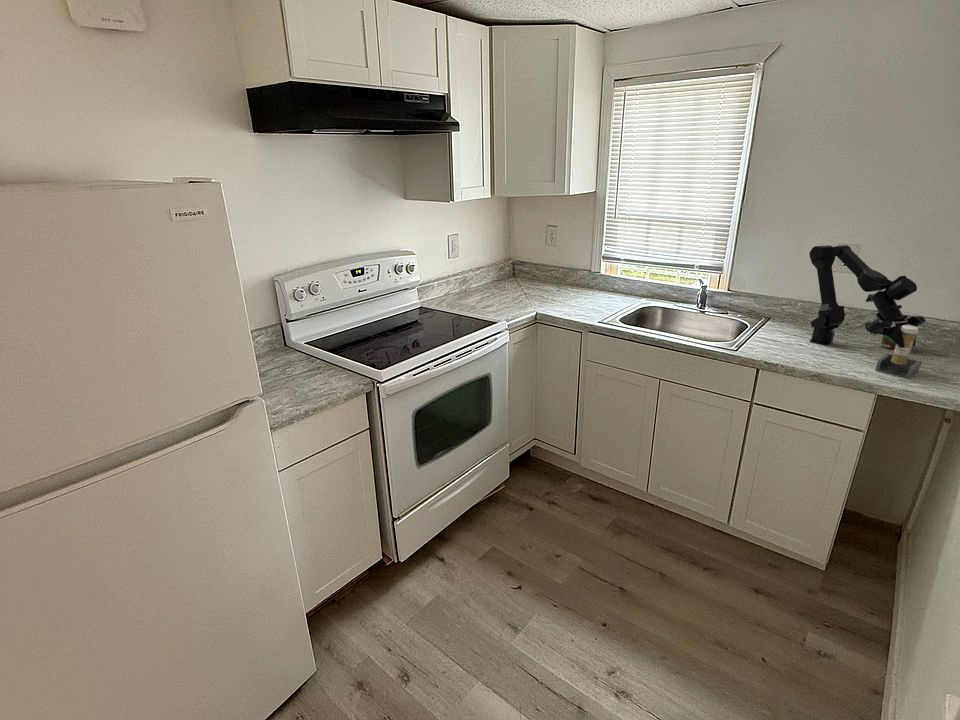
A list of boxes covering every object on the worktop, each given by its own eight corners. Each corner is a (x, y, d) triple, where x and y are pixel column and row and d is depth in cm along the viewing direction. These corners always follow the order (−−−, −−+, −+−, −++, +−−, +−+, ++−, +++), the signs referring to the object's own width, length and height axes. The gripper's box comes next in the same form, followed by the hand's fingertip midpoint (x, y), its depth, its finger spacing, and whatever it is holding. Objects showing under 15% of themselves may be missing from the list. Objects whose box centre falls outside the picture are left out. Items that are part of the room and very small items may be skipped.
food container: (893, 353, 198) (900, 328, 194) (877, 347, 204) (884, 323, 200) (917, 349, 201) (924, 324, 197) (901, 344, 207) (908, 320, 203)
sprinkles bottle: (888, 362, 182) (899, 325, 176) (894, 359, 184) (905, 323, 179) (903, 366, 178) (915, 329, 173) (909, 363, 180) (921, 327, 175)
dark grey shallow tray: (874, 370, 183) (878, 360, 181) (884, 363, 188) (887, 353, 187) (909, 379, 175) (913, 368, 174) (918, 371, 181) (921, 361, 180)
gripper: (887, 315, 192) (908, 353, 186) (847, 319, 188) (866, 358, 182) (915, 300, 182) (937, 340, 176) (873, 304, 178) (894, 345, 172)
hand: (908, 346), depth 177 cm, fingers closed on sprinkles bottle, 4 cm apart
